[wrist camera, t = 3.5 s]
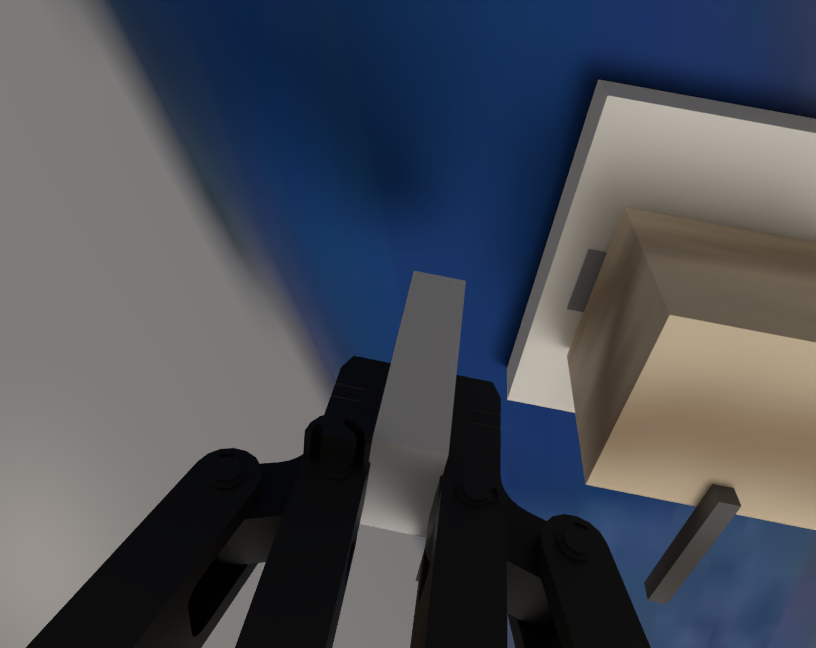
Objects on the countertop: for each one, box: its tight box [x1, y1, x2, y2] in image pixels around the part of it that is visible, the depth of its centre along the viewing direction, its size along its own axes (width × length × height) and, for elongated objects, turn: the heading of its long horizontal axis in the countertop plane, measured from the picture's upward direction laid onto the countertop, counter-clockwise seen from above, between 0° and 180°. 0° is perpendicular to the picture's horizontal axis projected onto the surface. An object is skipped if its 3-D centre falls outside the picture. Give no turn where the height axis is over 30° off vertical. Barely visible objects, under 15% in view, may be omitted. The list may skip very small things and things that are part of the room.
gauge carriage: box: [567, 207, 816, 604], centre depth 18 cm, size 10×10×7 cm
